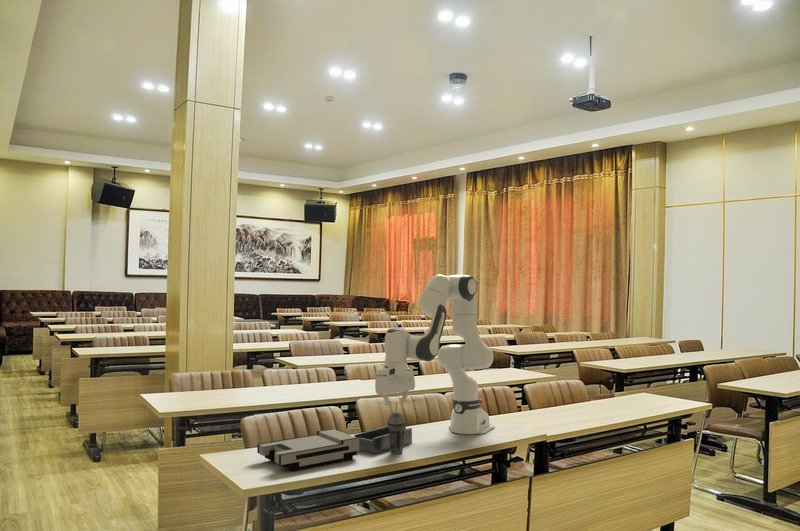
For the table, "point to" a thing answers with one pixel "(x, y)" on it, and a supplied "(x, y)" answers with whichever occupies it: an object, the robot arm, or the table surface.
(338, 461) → the game console
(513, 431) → the table surface
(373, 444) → the grey open box
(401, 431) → the beverage cup
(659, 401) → the table surface
